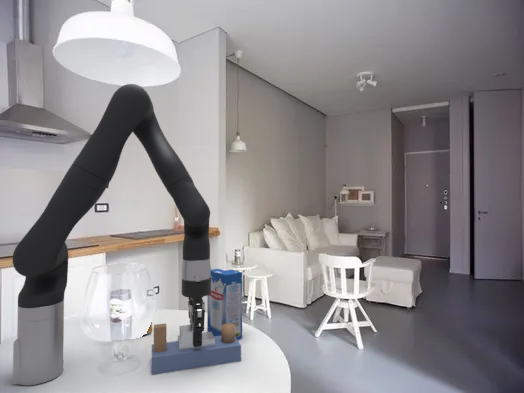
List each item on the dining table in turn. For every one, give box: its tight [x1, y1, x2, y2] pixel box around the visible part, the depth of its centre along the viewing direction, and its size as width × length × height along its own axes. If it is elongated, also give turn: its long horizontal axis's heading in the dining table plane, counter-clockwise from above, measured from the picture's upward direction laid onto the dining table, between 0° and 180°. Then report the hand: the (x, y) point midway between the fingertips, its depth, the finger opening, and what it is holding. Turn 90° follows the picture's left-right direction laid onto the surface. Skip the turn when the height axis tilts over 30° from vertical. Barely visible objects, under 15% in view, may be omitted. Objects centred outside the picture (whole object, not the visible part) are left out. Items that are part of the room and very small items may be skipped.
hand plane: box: [150, 322, 242, 376], centre depth 86 cm, size 22×8×10 cm, turn 108°
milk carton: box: [206, 267, 243, 341], centre depth 102 cm, size 10×6×20 cm, turn 41°
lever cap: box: [177, 324, 215, 351], centre depth 86 cm, size 9×5×4 cm, turn 108°
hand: (196, 341), depth 86 cm, fingers closed on lever cap, 5 cm apart
